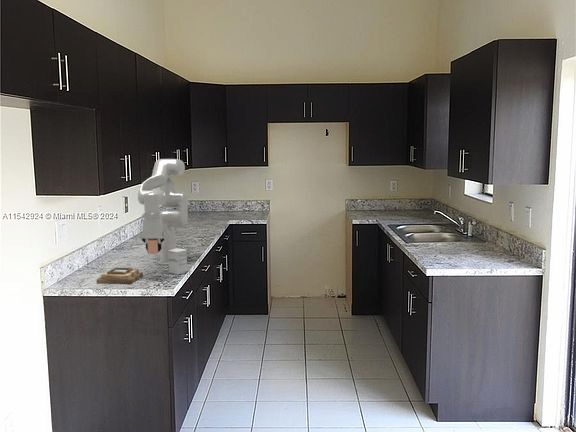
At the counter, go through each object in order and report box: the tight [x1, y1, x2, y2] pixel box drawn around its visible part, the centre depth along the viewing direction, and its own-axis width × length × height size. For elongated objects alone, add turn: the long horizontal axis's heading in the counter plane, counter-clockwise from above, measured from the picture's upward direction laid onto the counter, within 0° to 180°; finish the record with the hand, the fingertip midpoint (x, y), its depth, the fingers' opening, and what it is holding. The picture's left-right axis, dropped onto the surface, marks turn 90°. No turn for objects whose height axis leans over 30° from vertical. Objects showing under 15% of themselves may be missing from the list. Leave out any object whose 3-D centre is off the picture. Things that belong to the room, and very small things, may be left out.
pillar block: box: [147, 239, 160, 255], centre depth 274 cm, size 5×5×7 cm
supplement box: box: [168, 247, 188, 275], centre depth 288 cm, size 7×7×13 cm
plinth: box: [96, 267, 144, 285], centre depth 274 cm, size 16×18×5 cm
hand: (153, 250), depth 274 cm, fingers closed on pillar block, 5 cm apart
